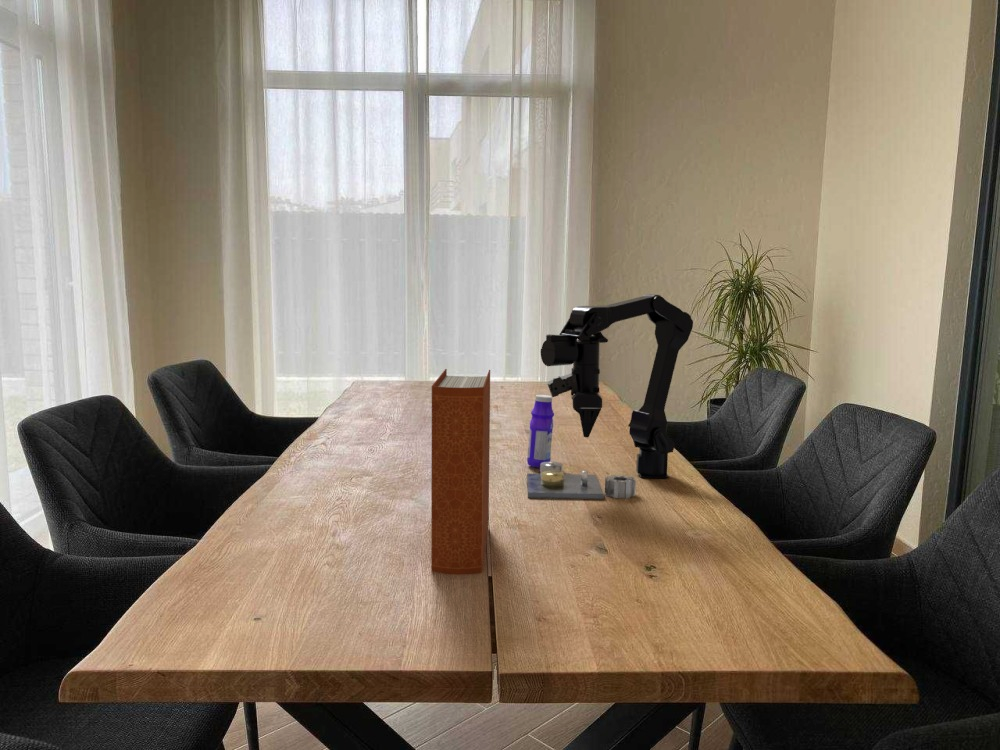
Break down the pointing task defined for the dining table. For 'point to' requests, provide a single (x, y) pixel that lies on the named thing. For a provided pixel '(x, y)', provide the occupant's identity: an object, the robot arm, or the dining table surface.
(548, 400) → the bottle
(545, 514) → the dining table surface
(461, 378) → the book
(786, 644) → the dining table surface
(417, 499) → the dining table surface
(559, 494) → the plate
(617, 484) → the planet gear
